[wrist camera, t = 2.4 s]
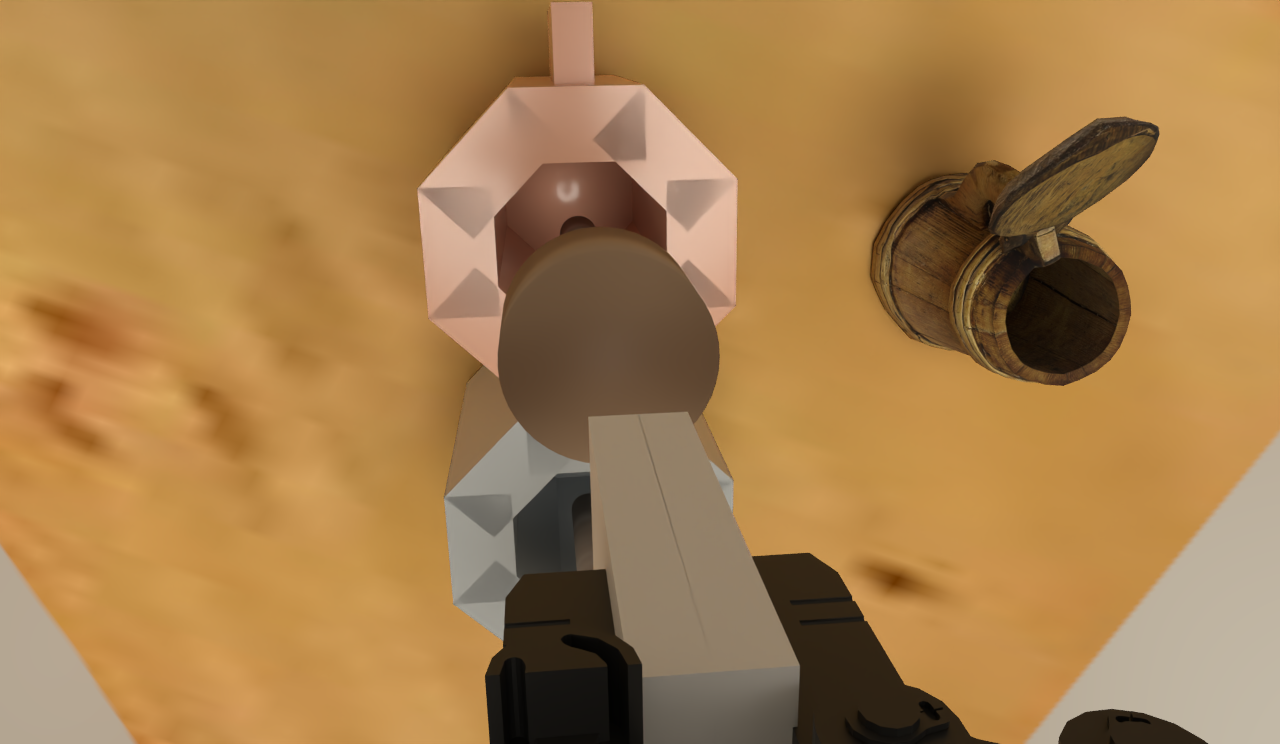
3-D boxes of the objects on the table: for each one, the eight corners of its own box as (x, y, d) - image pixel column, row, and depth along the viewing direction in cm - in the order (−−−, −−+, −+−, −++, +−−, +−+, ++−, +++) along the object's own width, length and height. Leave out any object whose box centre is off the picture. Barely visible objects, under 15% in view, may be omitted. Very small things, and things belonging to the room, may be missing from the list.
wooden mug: (989, 57, 48) (1239, 62, 31) (1057, 305, 52) (1309, 427, 35) (819, 131, 48) (976, 175, 31) (901, 371, 53) (1077, 524, 36)
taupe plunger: (508, 169, 36) (490, 255, 21) (642, 165, 37) (720, 247, 22) (515, 300, 38) (504, 470, 23) (645, 295, 38) (718, 458, 23)
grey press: (462, 318, 49) (436, 416, 36) (681, 308, 50) (734, 401, 37) (481, 562, 54) (463, 731, 40) (682, 549, 55) (730, 709, 41)
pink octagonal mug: (439, 16, 45) (400, 2, 32) (680, 12, 46) (740, -3, 33) (461, 309, 49) (435, 405, 36) (681, 300, 50) (735, 389, 37)
